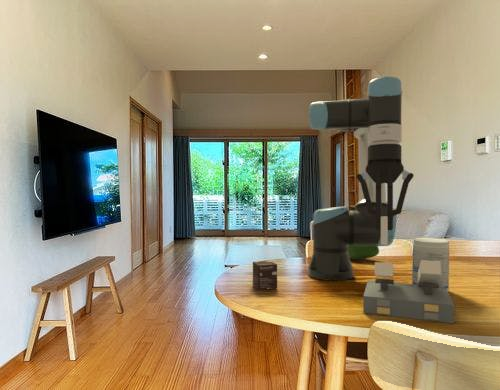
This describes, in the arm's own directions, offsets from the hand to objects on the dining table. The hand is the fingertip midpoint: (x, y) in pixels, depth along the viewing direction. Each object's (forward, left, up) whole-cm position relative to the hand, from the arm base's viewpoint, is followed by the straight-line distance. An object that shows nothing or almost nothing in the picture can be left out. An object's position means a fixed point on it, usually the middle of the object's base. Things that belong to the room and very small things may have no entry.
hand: (384, 243), depth 87 cm
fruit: (-11, +66, -17) cm, 69 cm away
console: (+5, +6, -16) cm, 18 cm away
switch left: (0, +5, -9) cm, 11 cm away
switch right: (+10, +5, -9) cm, 14 cm away
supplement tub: (+12, +25, -17) cm, 32 cm away
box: (-34, +11, -17) cm, 40 cm away
